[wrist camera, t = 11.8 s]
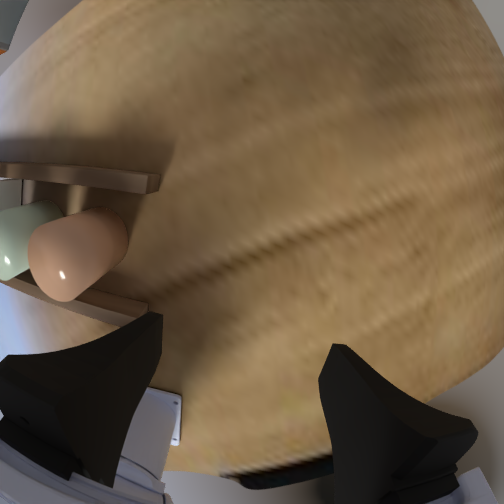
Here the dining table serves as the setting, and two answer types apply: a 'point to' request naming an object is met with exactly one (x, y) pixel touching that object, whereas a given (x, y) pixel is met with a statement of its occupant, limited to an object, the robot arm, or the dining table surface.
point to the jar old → (21, 234)
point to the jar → (76, 251)
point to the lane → (123, 180)
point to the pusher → (10, 193)
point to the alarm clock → (9, 20)
